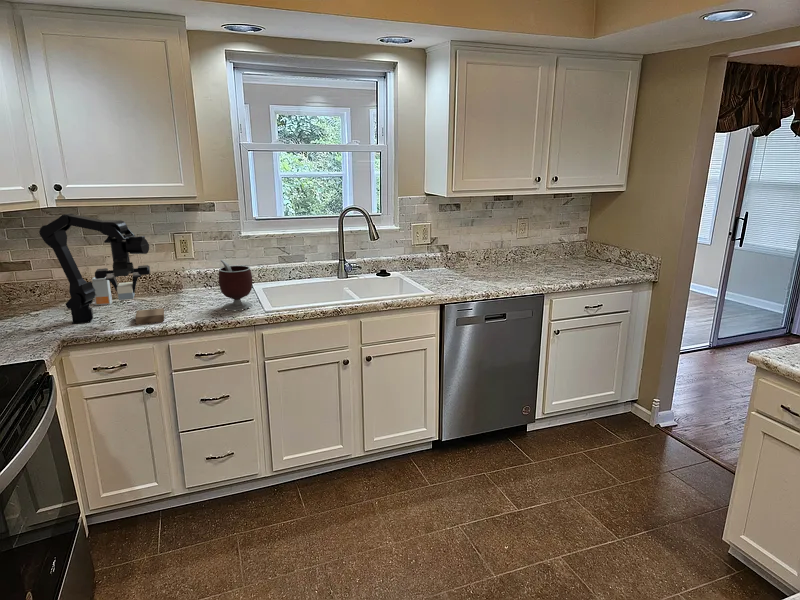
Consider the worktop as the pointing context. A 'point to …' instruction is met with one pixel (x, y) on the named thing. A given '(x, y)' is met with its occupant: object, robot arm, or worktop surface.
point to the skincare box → (102, 291)
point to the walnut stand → (149, 316)
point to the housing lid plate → (125, 287)
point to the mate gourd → (235, 285)
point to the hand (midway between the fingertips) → (126, 293)
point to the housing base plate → (126, 296)
